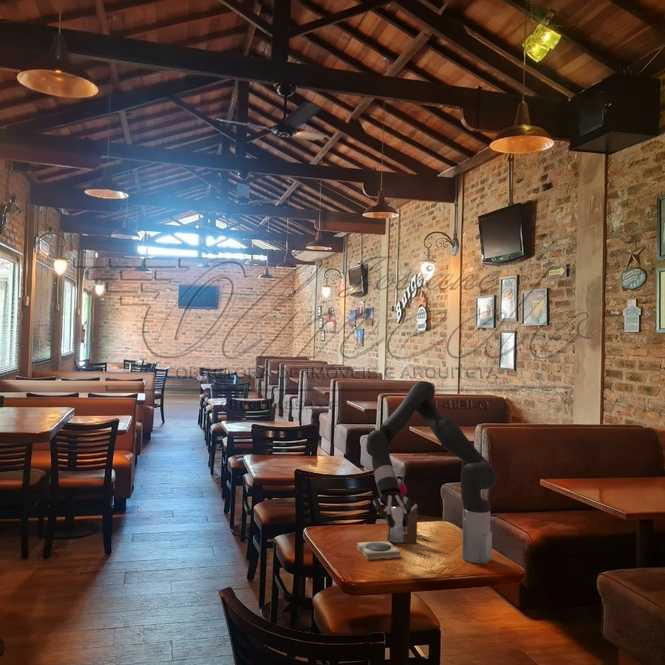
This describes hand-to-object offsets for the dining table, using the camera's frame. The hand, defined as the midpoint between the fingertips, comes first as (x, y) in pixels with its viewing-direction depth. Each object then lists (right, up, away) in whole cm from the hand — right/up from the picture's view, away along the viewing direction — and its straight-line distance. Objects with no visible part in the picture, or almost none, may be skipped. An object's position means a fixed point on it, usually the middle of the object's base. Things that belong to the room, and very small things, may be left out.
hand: (399, 526), depth 195 cm
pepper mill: (+5, -16, +44) cm, 47 cm away
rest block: (-6, -14, +15) cm, 21 cm away
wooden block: (+4, -15, +27) cm, 31 cm away
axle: (-1, -5, +2) cm, 6 cm away
